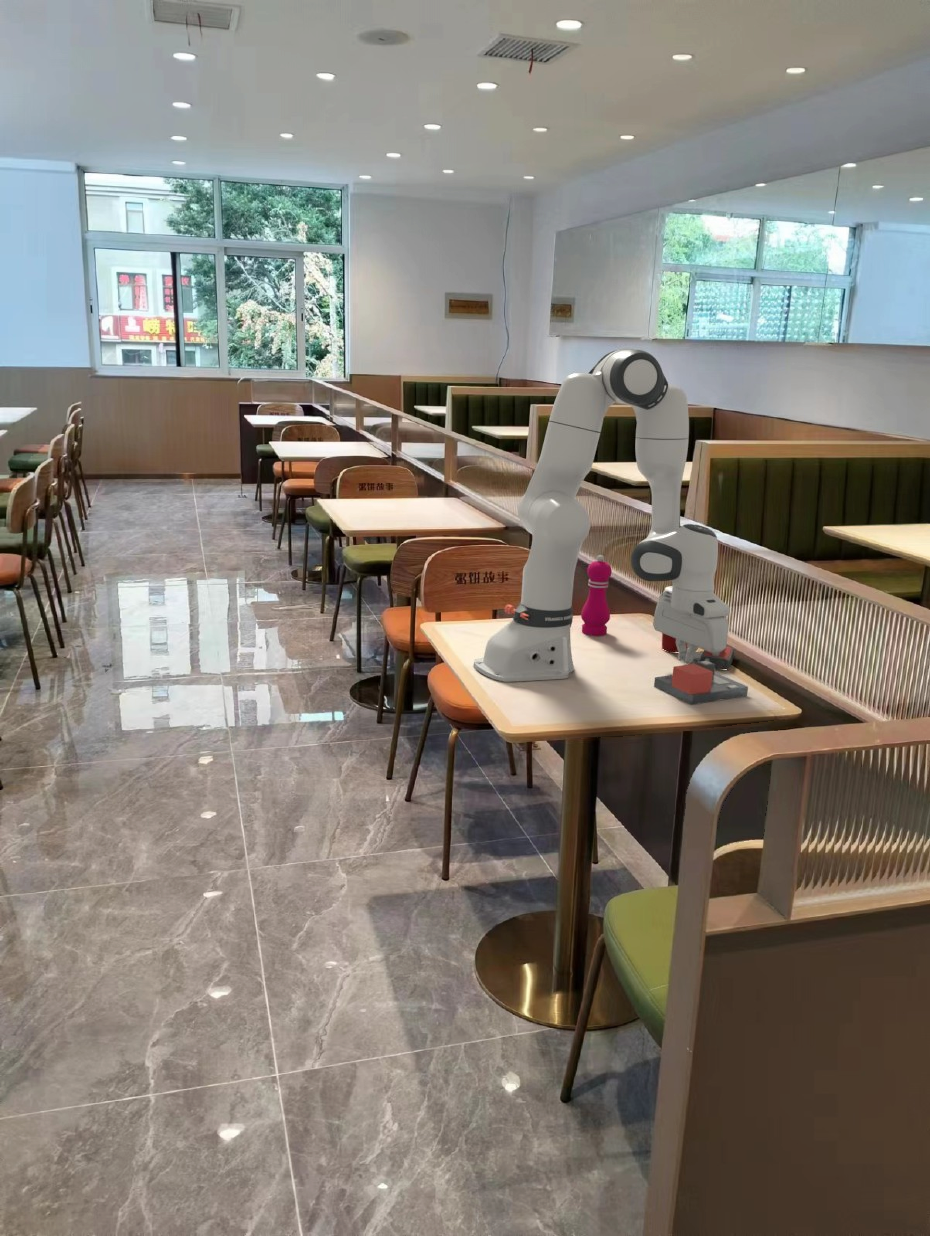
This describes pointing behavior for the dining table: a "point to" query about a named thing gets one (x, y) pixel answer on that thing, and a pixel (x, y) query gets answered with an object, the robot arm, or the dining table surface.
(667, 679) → the panel
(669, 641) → the coffee cup
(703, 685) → the cap
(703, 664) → the block
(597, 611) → the pepper mill
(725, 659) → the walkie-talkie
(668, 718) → the dining table surface
